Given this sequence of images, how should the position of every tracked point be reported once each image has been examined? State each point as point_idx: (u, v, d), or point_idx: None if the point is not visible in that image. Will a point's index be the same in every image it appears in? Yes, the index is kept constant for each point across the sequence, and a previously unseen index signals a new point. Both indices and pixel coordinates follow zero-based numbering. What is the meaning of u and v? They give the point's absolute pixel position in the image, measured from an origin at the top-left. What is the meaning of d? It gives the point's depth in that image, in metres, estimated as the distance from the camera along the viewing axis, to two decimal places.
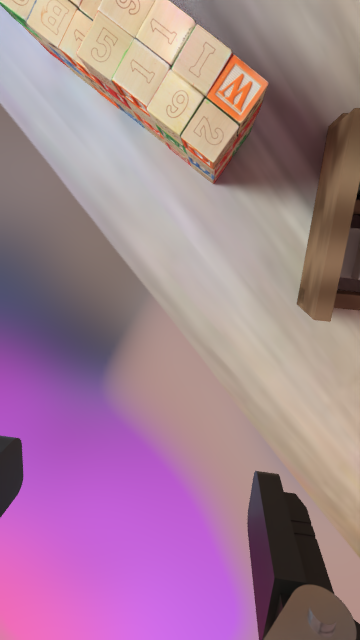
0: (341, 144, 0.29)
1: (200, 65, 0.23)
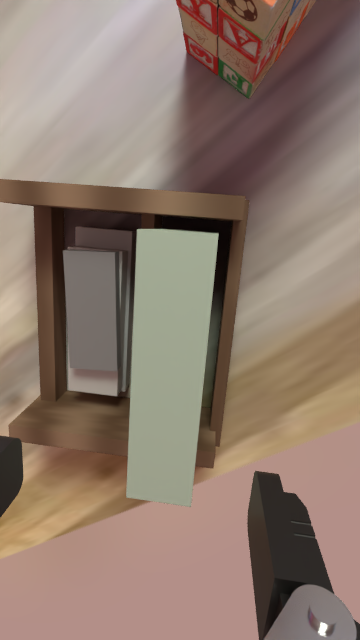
0: None
1: None
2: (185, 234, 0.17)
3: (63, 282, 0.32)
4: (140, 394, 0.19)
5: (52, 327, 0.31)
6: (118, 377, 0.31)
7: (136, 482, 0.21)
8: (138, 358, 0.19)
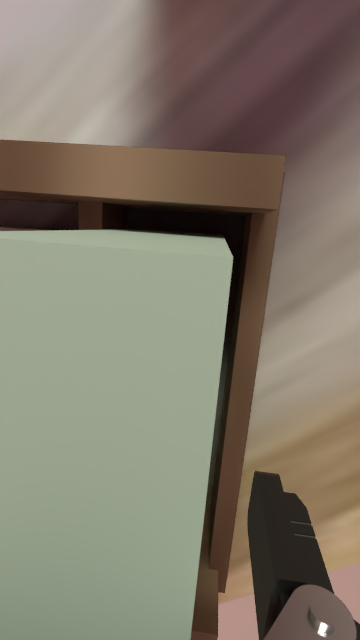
0: None
1: None
2: (103, 253, 0.04)
3: None
4: None
5: None
6: None
7: None
8: None
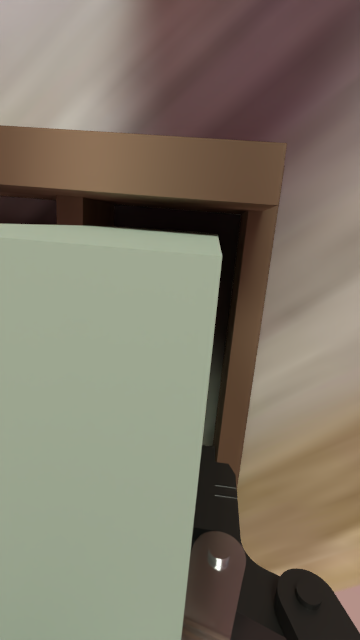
0: None
1: None
2: (29, 249, 0.03)
3: None
4: None
5: None
6: None
7: None
8: None
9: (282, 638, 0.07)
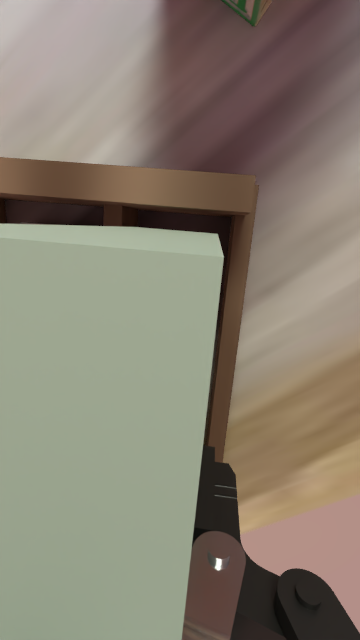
0: None
1: None
2: (31, 249, 0.03)
3: None
4: None
5: None
6: None
7: None
8: None
9: (282, 638, 0.07)
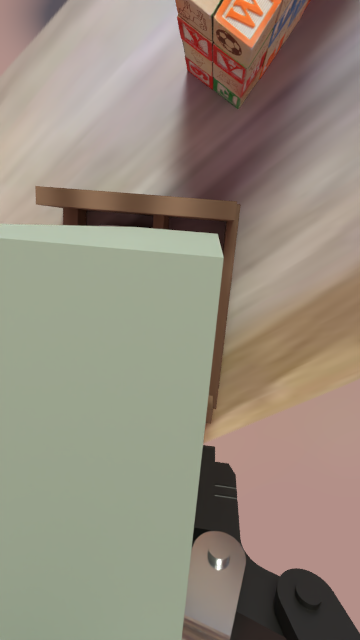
0: None
1: None
2: (32, 249, 0.03)
3: None
4: None
5: None
6: None
7: None
8: None
9: (282, 638, 0.07)
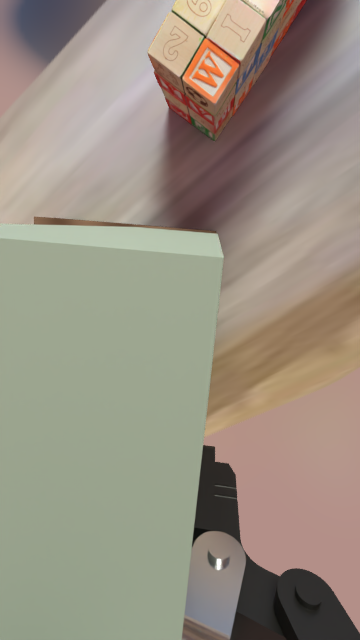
0: None
1: (231, 26, 0.24)
2: (30, 249, 0.03)
3: None
4: None
5: None
6: None
7: None
8: None
9: (282, 638, 0.07)
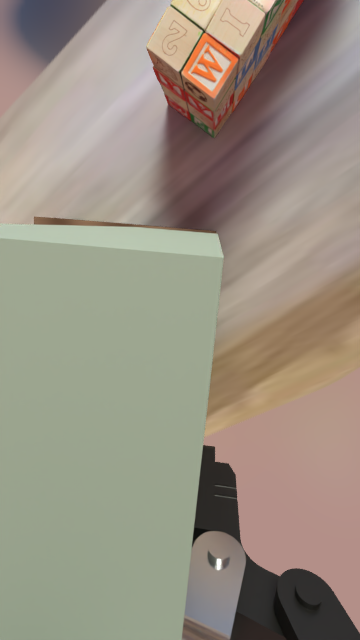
0: None
1: (230, 21, 0.24)
2: (31, 249, 0.03)
3: None
4: None
5: None
6: None
7: None
8: None
9: (282, 638, 0.07)
